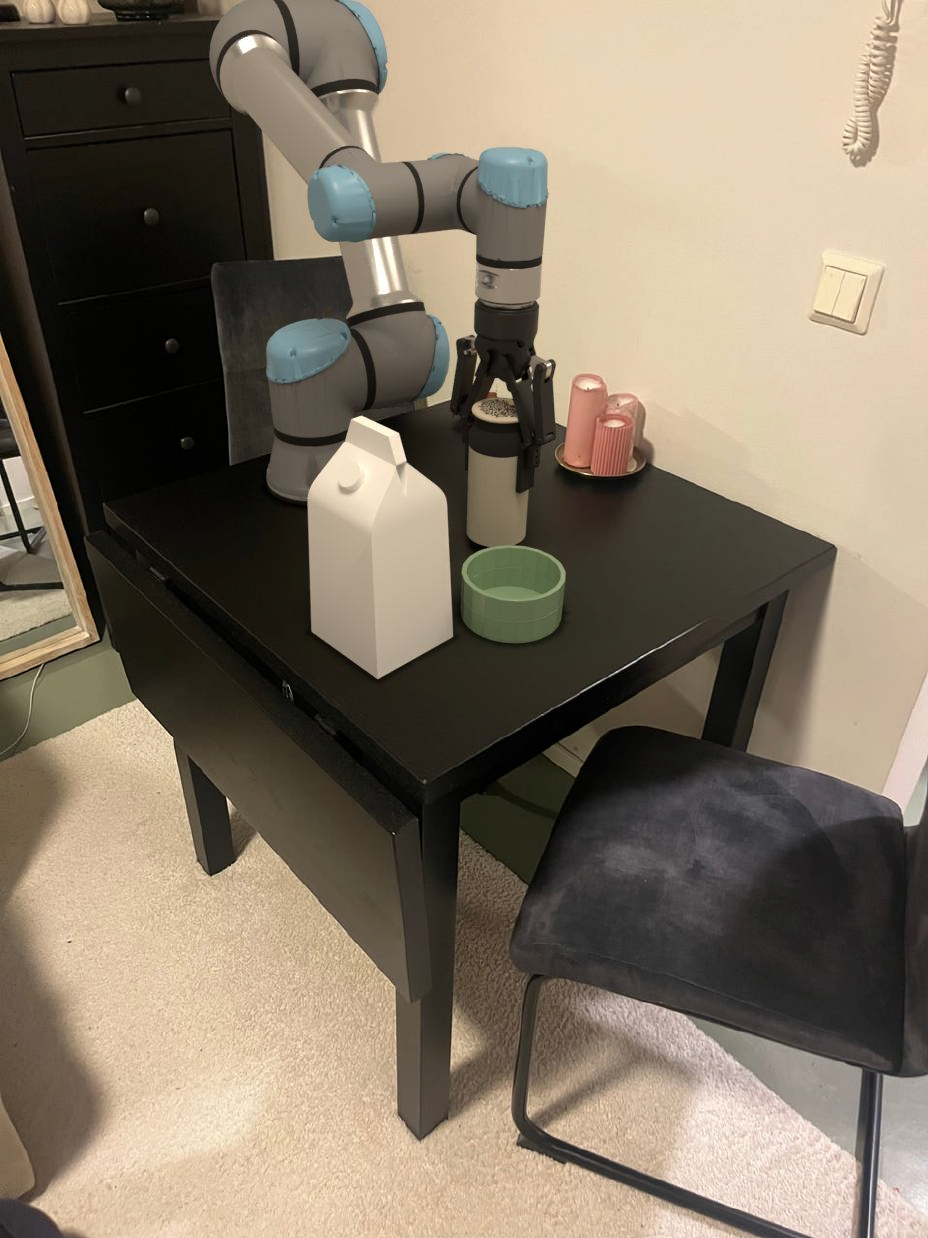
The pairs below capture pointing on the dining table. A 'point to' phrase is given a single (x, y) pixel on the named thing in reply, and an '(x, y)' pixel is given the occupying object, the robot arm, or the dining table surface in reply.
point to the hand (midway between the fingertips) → (498, 478)
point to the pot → (512, 593)
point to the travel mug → (495, 475)
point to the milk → (378, 553)
